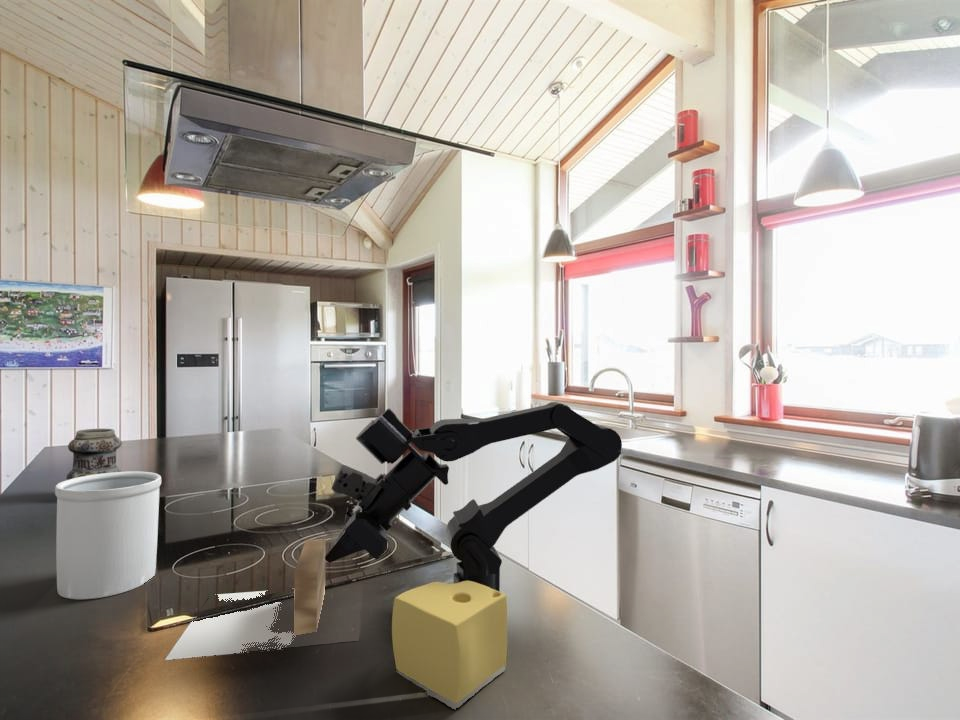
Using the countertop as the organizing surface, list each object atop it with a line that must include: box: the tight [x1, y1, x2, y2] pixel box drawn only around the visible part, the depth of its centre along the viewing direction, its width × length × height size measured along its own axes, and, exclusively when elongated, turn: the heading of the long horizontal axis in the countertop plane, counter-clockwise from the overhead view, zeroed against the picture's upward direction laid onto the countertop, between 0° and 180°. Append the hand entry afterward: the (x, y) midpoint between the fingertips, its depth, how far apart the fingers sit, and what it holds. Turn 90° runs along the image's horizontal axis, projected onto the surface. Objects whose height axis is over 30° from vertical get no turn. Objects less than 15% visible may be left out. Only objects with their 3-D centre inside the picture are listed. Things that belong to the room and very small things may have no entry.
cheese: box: [391, 581, 508, 703], centre depth 63 cm, size 10×11×10 cm
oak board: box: [293, 538, 327, 636], centre depth 77 cm, size 3×12×9 cm, turn 11°
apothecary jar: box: [66, 428, 123, 480], centre depth 141 cm, size 12×12×18 cm
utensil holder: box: [54, 470, 162, 600], centre depth 88 cm, size 15×15×18 cm
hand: (327, 559), depth 77 cm, fingers closed
